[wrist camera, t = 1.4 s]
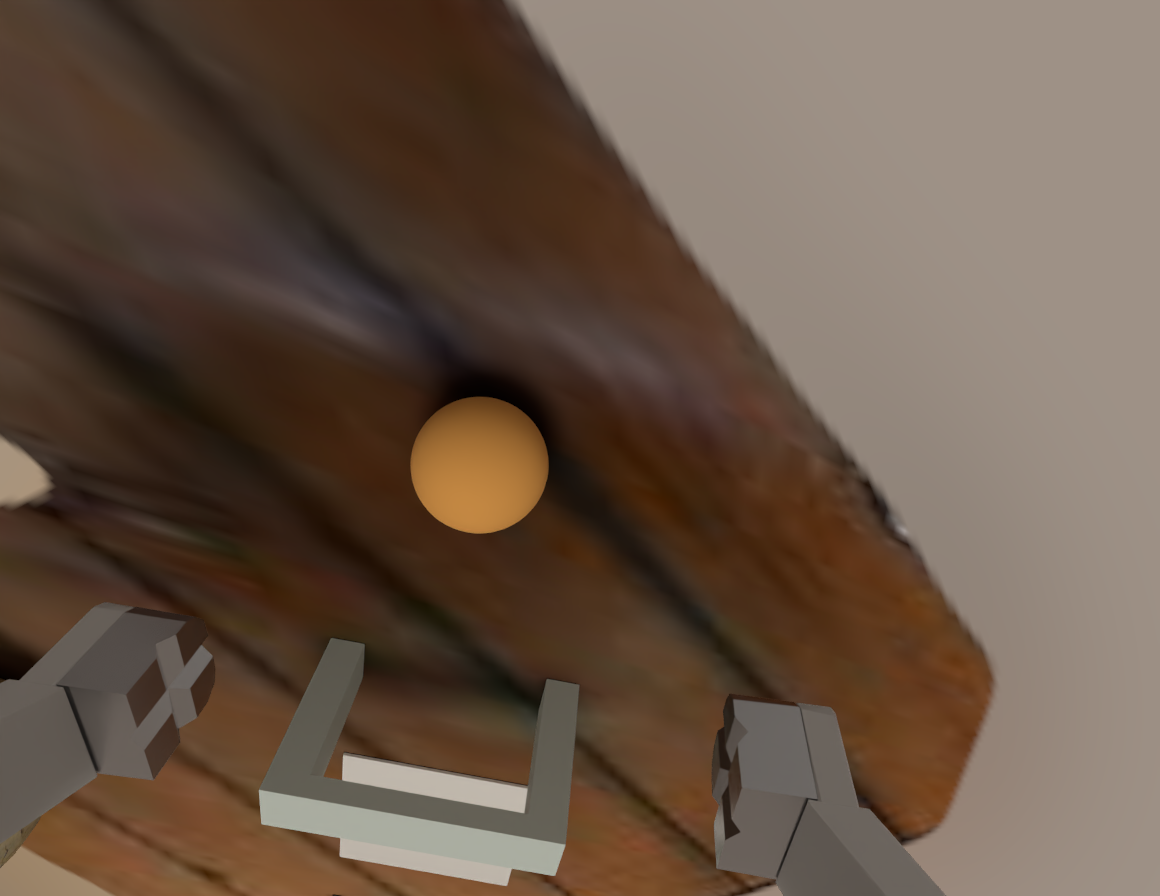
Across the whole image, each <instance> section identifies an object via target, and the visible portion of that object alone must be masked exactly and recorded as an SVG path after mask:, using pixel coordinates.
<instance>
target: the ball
mask: <svg viewBox="0 0 1160 896" xmlns="http://www.w3.org/2000/svg"><path fill="white" fill-rule="evenodd" d="M411 475H412V481H413V485H414V488H415V490H416V493H417V495H418V497H419V499H420V500H421V502H422V504H423V505H424V506H425V507H426V509H427V510H428V511H429V512H430V513H431V514H432V515H433V516H434V517H435V518H436V519H438V520H439V521H441V522H442V523H444V524H445V525H447V526H450V527H452V528H454V529H457V530H460V531H464V532H469V533H490V532H495V531H498V530H502V529H505V528H507V527H509V526H511V525H513V524H515V523H516V522H518V521H520V520H521V519H522V518H523V517H525V516H526V515H527V514H528V513H529V512H530V511H531V510H532V508H533V507H534V506H535V505H536V503H537V502H538V500H539V498H540V497H541V495H542V493H543V490H544V487H545V484H546V481H547V476H548V454H547V449H546V445H545V442H544V439H543V437H542V435H541V433H540V431H539V429H538V428H537V426H536V425H535V424H534V422H533V421H532V420H531V419H530V418H529V417H528V416H527V415H526V414H525V413H524V412H523V411H521V410H520V409H518V408H517V407H515V406H514V405H512V404H510V403H508V402H505V401H503V400H499V399H496V398H490V397H470V398H464V399H460V400H457V401H454V402H452V403H450V404H448V405H446V406H444V407H443V408H441V409H440V410H438V411H437V412H436V413H435V414H434V415H432V416H431V417H430V418H429V419H428V420H427V422H426V423H425V424H424V426H423V427H422V428H421V430H420V432H419V434H418V436H417V438H416V440H415V443H414V446H413V449H412V455H411Z"/></svg>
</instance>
